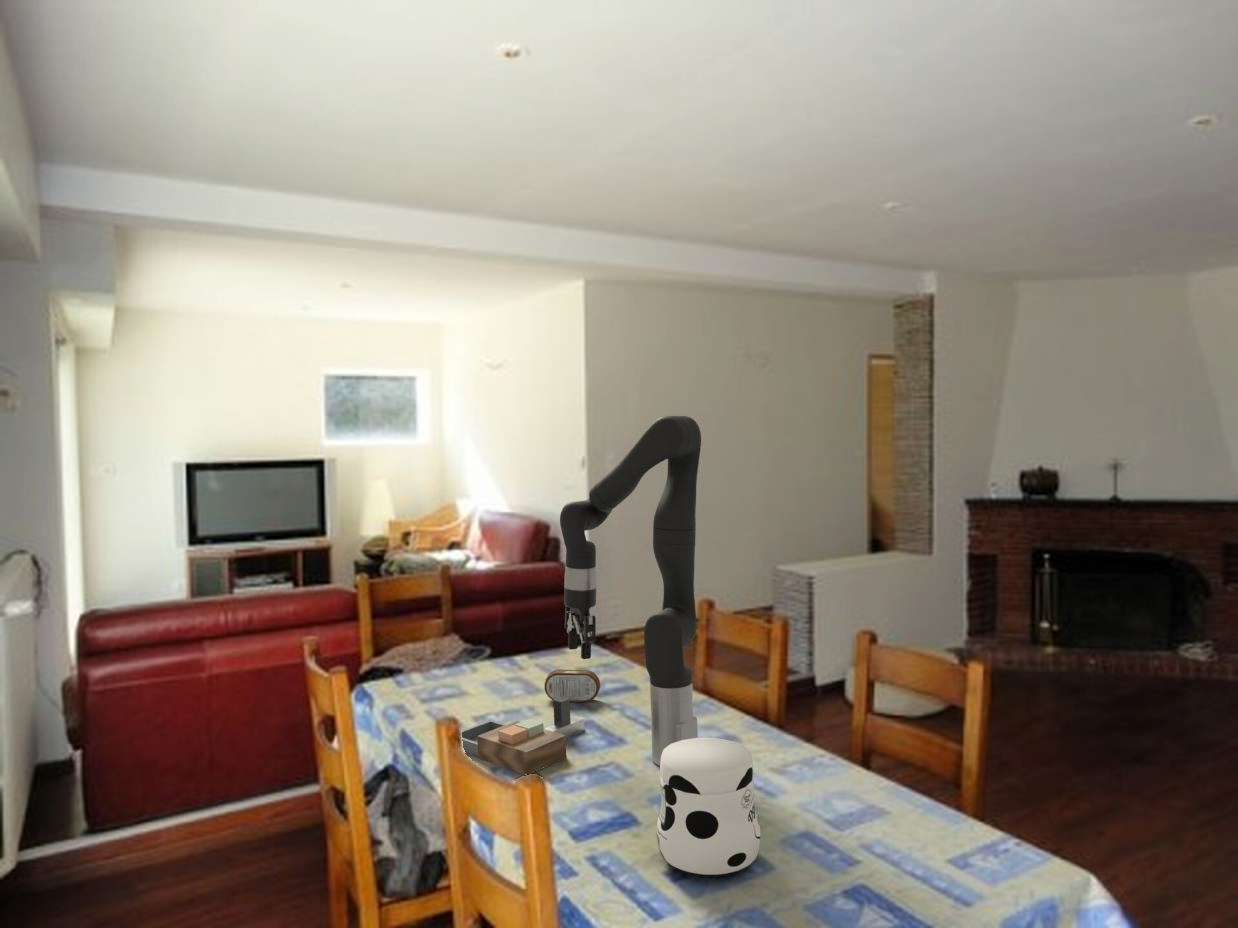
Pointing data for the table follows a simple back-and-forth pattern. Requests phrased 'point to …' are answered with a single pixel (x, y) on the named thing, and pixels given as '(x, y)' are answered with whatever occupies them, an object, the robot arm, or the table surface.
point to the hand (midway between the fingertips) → (579, 653)
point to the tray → (471, 735)
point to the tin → (572, 685)
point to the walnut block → (522, 750)
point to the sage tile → (531, 727)
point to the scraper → (565, 719)
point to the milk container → (707, 807)
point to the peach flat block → (512, 734)
